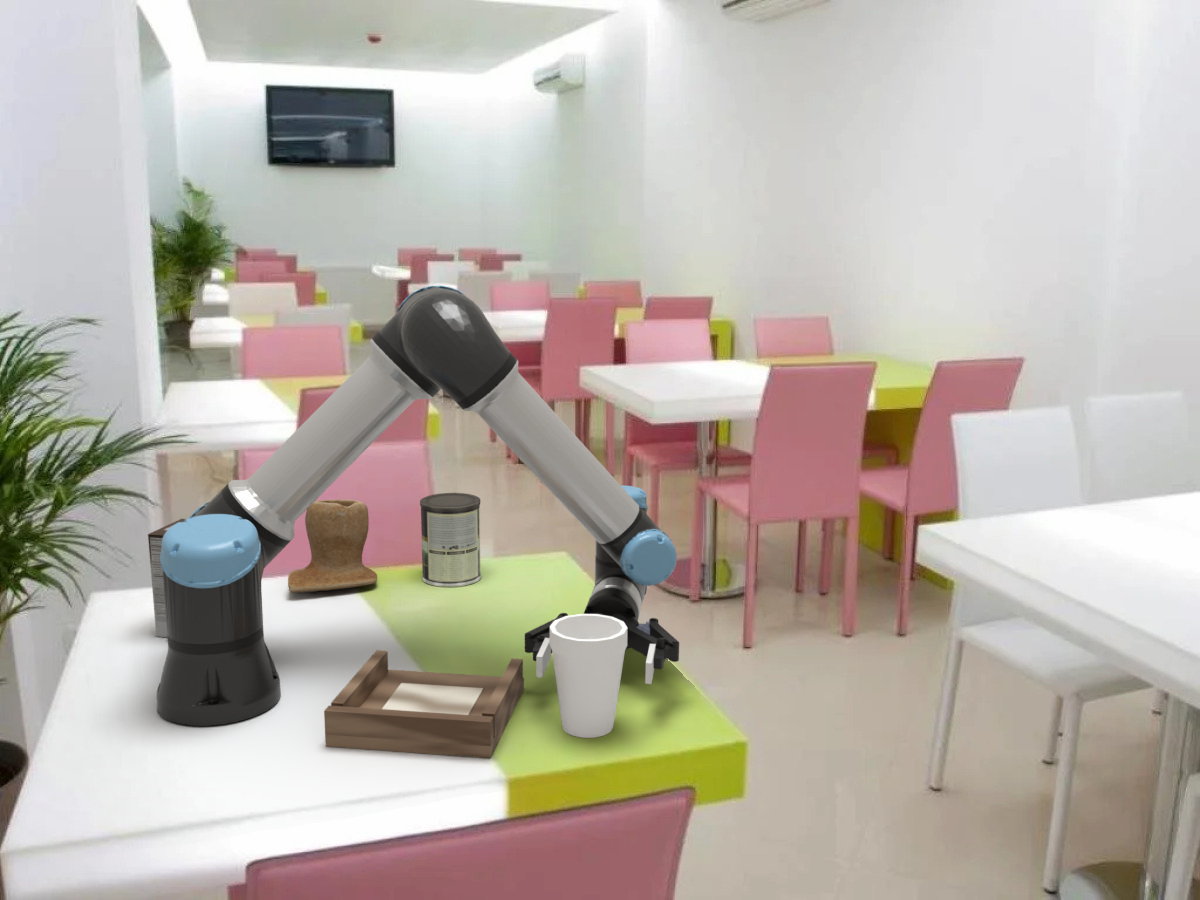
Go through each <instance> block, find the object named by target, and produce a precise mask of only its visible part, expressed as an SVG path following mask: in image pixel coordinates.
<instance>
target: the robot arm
mask: <svg viewBox="0 0 1200 900" xmlns="http://www.w3.org/2000/svg"><path fill="white" fill-rule="evenodd" d="M369 342H370V343H369V346H370V353H369V357H367V359H366V360H365V361H364V362H362V364H360V366H358V367H357V369H356V370H355V371H354V372H352V374H351V375H350V376H349V377H348V378H347V379H346V380H345V381H343V383H342V384H341V385H339V387H338V388H337V389H336V390H335V391H334V392H333V393H332V394H331V395H330V396H329V397H328V398H327V399H326V400H325V401H324V402H323V403H322V404H321V405H319V407H318V408H317V409H316V410H315V411H314V412H313V413H312V414H311V415H310V416H309V417H308V418H307V419H306V420H305V421H304V422H303V423H302V424H301V425H300V426H299V427H298V428H297V429H296V430H295V431H294V432H293V433H292V434H291V435H290V436H289V437H288V438H287V440H285V441H284V442H283V443H282V444H281V445H280V446H279V447H278V448H277V449H276V450H275V451H274V452H273V453H272V455H270V456H269V458H268V459H267V460H265V461H264V463H262V465H260V467H258V469H257V470H255V472H254V473H253V474H252V475H250V477H249V478H247V479H231V480H230V481H228V483H227V484H226V485H225V486H224V487H223V488H222V489H220V491H219V492H218V493H217V494H216V495H214V497H213V498H212V499H211V500H210V501H209V502H205V503H204V504H203V505H202V506H199V507H198V508H197V509H195V511H194V512H193V513H192V514H191V515H190V516H189V518H184V519H185V520H184V522H178V523H176V524H175V525H173V526H172V527H171V528H169V529H168V530H167V531H166V533H165V534H164V536H163V539H162V549H161V553H160V562H161V565H162V569H163V582H164V596H165V611H166V625H167V637H166V639H167V653H166V658H165V661H164V665H163V668H162V669H163V670H162V672H161V673H162V674H161V678H160V682H159V684H158V686H157V690H156V706H157V711H158V714H159V715H160V716H161V717H162V718H164V719H165V720H167V721H169V722H172V723H176V724H180V725H186V726H196V727H197V726H199V727H201V726H202V727H203V726H206V727H207V726H219V725H226V724H227V725H228V724H233V723H236V722H240V721H244V720H247V719H248V720H249V719H250V718H253V717H256V716H259V715H260V714H262V713H265V712H267V711H268V710H270V709H271V708H272V707H274V706H275V705H276V704H277V703H278V702H279V700H280V698H281V696H282V695H281V694H282V693H281V678H280V674H279V673H278V672H279V671H277V668H276V666H275V663H274V660H273V658H272V655H271V652H270V650H269V647H268V646H267V644H266V641H265V634H264V615H263V598H262V595H263V593H262V592H263V591H262V578H263V573H264V570H265V568H266V567H267V566H268V565H269V564H270V563H272V561H273V560H274V559H275V558H276V557H277V556H278V555H279V554H280V553H281V552H282V551H283V550H284V549H285V548H286V546H287V545H289V544H290V542H291V541H293V540H294V538H295V522H296V521H297V520H298V519H299V518H300V517H301V516H302V515H303V514H304V513H306V511H307V509H308V507H309V506H310V505H311V504H312V503H313V502H314V501H317V500H318V498H320V497H321V496H322V495H323V494H324V492H326V491H327V489H328V488H330V486H332V485H333V484H334V482H335V481H336V480H338V478H340V476H341V475H342V474H343V473H344V472H345V471H346V470H347V469H348V468H349V467H350V466H351V465H352V464H353V463H355V461H356V460H357V459H358V458H360V456H361V455H362V454H363V453H364V452H365V451H366V450H367V449H368V448H369V447H370V446H371V445H372V444H373V443H374V442H375V441H376V440H377V439H378V438H379V437H380V436H381V435H382V434H384V432H385V431H386V430H387V429H388V428H389V427H390V425H392V424H393V423H394V422H395V421H396V420H397V419H398V417H399V416H400V415H402V414H403V413H404V412H405V410H407V408H409V407H410V406H411V405H412V404H413V403H414V402H415V401H417V400H431V399H433V398H434V397H436V396H435V395H437V394H439V392H440V391H441V390H442V391H443V392H444V393H445V394H447V395H448V396H449V397H450V398H451V399H452V400H453V401H454V402H455V403H456V404H457V406H458V407H460V408H461V409H462V410H463V411H464V412H474V413H476V414H477V415H478V416H479V417H480V418H481V419H482V420H483V421H484V422H485V423H486V424H487V426H488V427H489V428H490V429H491V430H492V431H493V432H494V434H496V436H497V437H499V439H500V440H501V441H502V442H503V443H504V444H505V445H506V446H507V448H509V449H510V450H511V452H513V454H514V455H516V456H517V458H519V460H520V461H521V462H522V463H523V464H524V465H525V467H526V468H528V470H529V471H531V473H533V475H534V476H535V477H536V478H537V479H538V480H539V481H540V482H541V483H542V485H544V486H545V487H546V488H547V489H548V491H549V492H550V493H551V494H552V495H553V496H554V497H555V498H556V499H557V500H558V502H560V503H561V504H562V506H563V507H564V508H565V509H566V510H567V511H568V512H569V513H570V514H571V515H572V516H573V517H574V518H575V519H576V521H577V522H579V524H580V525H581V526H582V527H583V528H584V529H585V530H586V531H587V532H588V533H589V535H590V536H592V537H593V539H594V540H595V558H594V559H595V560H594V561H595V562H594V586H593V590H592V592H591V594H590V597H589V599H588V601H587V603H586V607H585V610H584V612H583V614H600V615H605V616H611V617H614V618H617V619H619V620H621V621H623V622H624V623H625V625H626V626H627V628H628V632H627V647H626V649H625V650H629V649H632V650H634V651H636V652H638V653H640V654H641V655H643V656H644V657H646V660H645V683H644V684H647V685H652V682H653V678H654V673H655V670H662V669H663V668H664V664H665V662H666V661H665V660H668V661H670V662H672V663H673V662H674V663H675V662H679V661H680V642H679V640H678V639H677V638H675V637H674V636H673V635H672V634H671V633H670V632H668V631H667V630H666V629H665V628H664V627H663V626H662V625H660V622H659V619H658V618H655V617H651V618H649V621H646V622H645V623H639V617H640V613H641V610H642V609H641V608H642V604H643V601H644V599H645V596H646V594H647V590H648V587H649V586H657V585H659V584H661V583H663V582H665V581H666V580H667V579H668V578H669V577H670V576H671V575H672V574H673V572H674V570H675V568H676V565H677V563H678V562H677V561H678V560H677V559H678V554H677V549H676V546H675V545H674V543H673V541H672V539H671V538H670V536H668V534H667V533H666V532H664V531H662V530H661V528H660V527H659V526H658V525H657V524H656V523H655V522H654V520H652V519H651V518H650V516H649V515H648V514H647V512H648V509H649V507H648V505H647V503H648V502H647V493H646V492H645V490H644V489H642V488H640V487H636V486H633V485H623V484H622V485H621V484H620V483H619V482H618V481H617V480H616V479H615V477H613V475H612V474H611V473H610V472H609V470H607V469H606V467H605V466H604V465H603V464H602V463H601V462H600V461H599V460H598V459H597V457H595V455H594V454H593V453H592V451H590V450H589V449H588V448H587V446H585V444H584V443H583V442H582V441H581V439H579V438H578V437H577V435H576V434H575V433H574V432H573V431H572V430H571V429H570V428H569V426H568V425H567V424H565V422H564V421H563V420H562V419H561V418H560V417H559V415H557V413H556V412H555V411H554V410H553V409H552V407H550V406H549V404H548V403H547V402H546V401H545V400H544V399H543V398H542V397H541V396H540V395H539V393H537V391H536V390H535V389H534V388H533V386H531V384H530V383H529V382H528V381H527V380H526V379H525V377H523V376H522V375H521V373H519V360H518V359H517V357H515V355H514V354H512V352H511V351H510V349H509V348H508V347H507V346H506V345H505V343H503V341H502V339H501V338H500V337H499V335H498V334H497V332H496V331H495V330H494V328H493V326H492V324H491V323H490V321H489V320H488V319H487V317H486V315H485V314H484V312H483V310H482V309H481V308H480V307H479V306H478V304H476V303H475V302H474V300H471V298H469V297H468V296H466V295H465V294H464V293H463V292H462V291H460V290H458V289H455V288H454V287H450V286H445V285H428V286H425V287H422V288H419V289H417V290H415V291H413V292H412V293H410V294H409V295H407V297H405V299H403V301H402V302H401V303H400V306H399V307H398V309H397V312H396V313H395V314H394V316H392V317H391V318H390V319H389V320H388V321H387V322H386V323H385V324H384V325H383V327H381V328H380V329H379V330H378V332H376V333H375V334H374V335H373V337H372V338H371V339H370V341H369ZM565 616H569V614H568V613H566V612H561V613H559V614H558V615H557V616H556V617H555V618H554V619H551V620H549V621H547V622H545V623H543V624H541V625H539V626H537V627H535V628H533V629H531V630H529V631H527V632H525V633H524V652H525V653H526V654H532V661H533V662H536V663H535V664H536V666H535V667H536V668H535V669H536V670H535V671H536V673H535V677H536V678H543V677H544V675H545V672H546V670H547V668H548V666H549V663H550V660H551V658H552V657H551V656H552V649H551V647H550V625H551V624H552V623H553V622H554V621H555V620H557V619H560V618H562V617H565Z"/></svg>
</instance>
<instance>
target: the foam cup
mask: <svg viewBox="0 0 1200 900" xmlns="http://www.w3.org/2000/svg"><path fill="white" fill-rule="evenodd" d="M627 632H628V628H627V626H626V625H625V623H624V622H623V621H621V620H619V619H617V618H614V617H611V616H605V615H600V614H584V613H579V614H573V615H572V614H571V615H568V616H565V617H562V618H560V619H557V620H555V621H554V622H553V623H552V624H551V625H550V647H551V649H552V653H551V656H552V660H553V668H554V676H555V682H556V691H557V698H558V705H559V713H560V721H561V725H562V726H561V727H562V729H563V731H564V732H565V733H566V734H568V735H570V736H573V737H578V738H582V739H584V738H585V739H586V738H588V739H591V738H592V739H593V738H598V737H599V738H600V737H603V736H605V735H607V734H609V733H611V732H612V731H613V728H614V724H615V720H616V719H615V718H616V711H617V706H618V699H619V693H620V687H621V686H620V685H621V680H622V679H621V678H622V673H623V665H624V658H625V652H626V650H627V649H626V647H627Z"/></svg>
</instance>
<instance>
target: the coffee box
mask: <svg viewBox="0 0 1200 900" xmlns="http://www.w3.org/2000/svg"><path fill="white" fill-rule="evenodd" d="M185 519H186V518H179V519H178V520H176V521H174V522H172V523H170V524H166V525H165V526H163V527H160V528H159V529H157V530H154V531H152V532H150V533H148V534H147V539H148V540H147V541H148V552H149V563H150V575H151V576H150V577H151V588H152V601H153V602H152V603H153V610H154V611H153V612H154V623H155V624H154V625H155V635H156V637H158V638H167V625H166V611H165V596H164V582H163V569H162V565H161V562H160V553H161V549H162V539H163V536H164V534H165V533H166V531H167V530H168V529H169V528H171V527H172V526H173V525H175V524H176V523H178V522H184V520H185Z"/></svg>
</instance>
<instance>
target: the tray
mask: <svg viewBox="0 0 1200 900" xmlns="http://www.w3.org/2000/svg"><path fill="white" fill-rule="evenodd" d="M388 656H389V655H388V650H380V649H376V650H375V651H374V653H373V654H372V655H371V656H370V657H369V658H368V660H366V662H365V663H364V664H363V665H362V667H361V668H360V669H359V670H358V671H357V672H356V673H355V675H353V677H352V678H351V679H350V680H349V682H348V683H347V684H346V685H345V686H344V687H343V689H342V690H341V691H340V692H339V693H338V694H337V695H336V697H335V698H334V699H332V701H331V702H330V705H328V706H327V707H326V708H325V709H324V711H323V715H324V716H323V717H324V719H323V720H324V739H325V741H324V742H325V747H332V748H343V749H345V748H346V749H360V750H373V751H389V752H399V753H401V752H402V753H413V754H414V753H415V754H430V755H439V756H455V757H457V756H458V757H468V758H469V757H470V758H480V759H481V758H483V759H491V758H492V756H493V754H494V752H495V750H496V748H497V746H498V743H499V742H500V740H501V737H502V736H503V734H504V731H505V729H506V727H507V726H508V723H509V721H510V719H511V717H512V715H513V713H514V710H515V708H516V707H517V704H518V702H519V700H520V698H521V696H522V693H523V692H524V690H525V677H524V659H523V658H511V659H510V660H509V662H508V665H507V666H506V668H505V671H504V672H503V674H502V676H496V675H478V674H465V673H464V674H463V673H451V672H450V673H448V672H434V671H433V672H432V671H417V670H401V669H400V670H399V669H389V661H388V660H389V659H388V658H389V657H388Z"/></svg>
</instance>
